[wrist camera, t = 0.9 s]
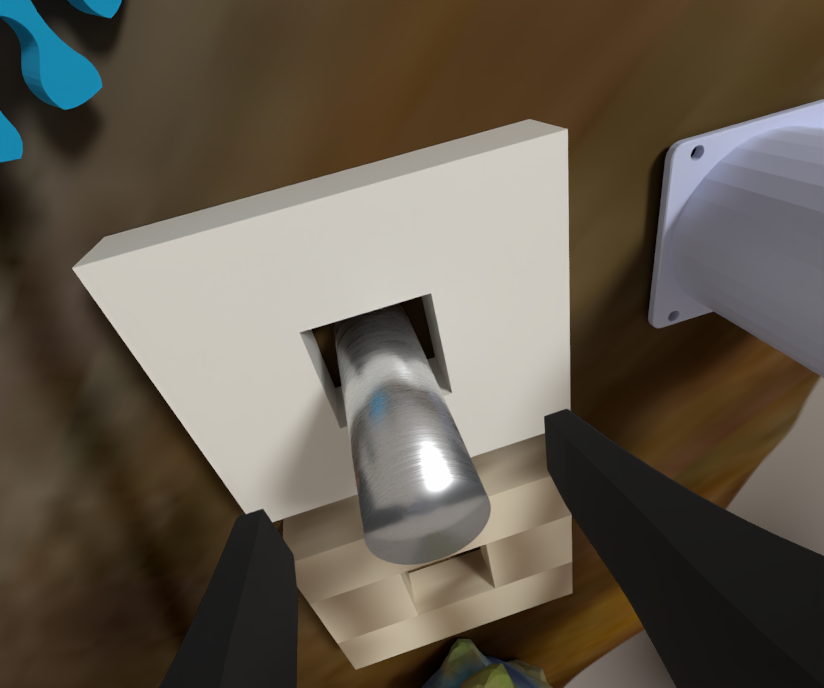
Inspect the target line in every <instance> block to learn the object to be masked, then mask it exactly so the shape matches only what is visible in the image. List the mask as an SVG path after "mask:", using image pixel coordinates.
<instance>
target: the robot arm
mask: <svg viewBox="0 0 824 688" xmlns="http://www.w3.org/2000/svg"><path fill="white" fill-rule="evenodd" d="M695 147H696V151H695V153H694V155H693V156H692V157H691V153H692V150H693V149H694V148H695ZM713 311H714V312H716V313H717V314H719V315H721V316H722V317H724V318H726V319H727V320H729V321H731V322H732V323H734V324H736V325H737V326H739V327H741V328H742V329H744V330H746V331H747V332H749V333H751V334H752V335H754V336H755V337H757V338H759V339H760V340H762V341H764V342H765V343H767V344H769V345H770V346H772V347H774V348H775V349H777V350H779V351H780V352H782V353H784V354H785V355H787V356H789V357H790V358H792V359H794V360H795V361H797V362H799V363H800V364H802V365H804V366H805V367H807V368H809V369H810V370H812V371H813V372H815V373H817V374H818V375H820V376H822V377H823V378H824V99H822V100H819V101H815V102H812V103H808V104H805V105H801V106H798V107H794V108H791V109H787V110H784V111H781V112H777V113H774V114H770V115H767V116H763V117H760V118H756V119H753V120H749V121H746V122H742V123H739V124H735V125H732V126H728V127H725V128H721V129H718V130H714V131H711V132H707V133H704V134H701V135H697V136H694V137H690V138H687V139H683V140H680V141H678V142H676V143H674V144H673V145H672V146H671V147H670V148H669V150H668V152H667V154H666V158H665V166H664V175H663V185H662V194H661V203H660V212H659V222H658V231H657V240H656V249H655V259H654V268H653V277H652V286H651V296H650V305H649V314H648V322H649V323H650V324H651V325H652V326H653V327H655V328H662V327H666V326H669V325H672V324H675V323H678V322H681V321H685V320H688V319H691V318H694V317H697V316H700V315H704V314H707V313H710V312H713ZM671 312H672V313H671ZM544 425H545V442H546V460H547V470H548V472H549V474H550V476H551V478H552V480H553V482H554V484H555V486H556V488H557V490H558V491H559V493H560V495H561V497H562V499H563V501H564V503H565V505H566V506H567V508H568V509H569V511H570V512H571V514H572V516H573V517H574V519H575V520H576V522H577V523H578V525H579V526H580V528H581V529H582V531H583V532H584V534H585V535H586V537H587V538H588V540H589V541H590V543H591V544H592V546H593V547H594V548H595V550H596V551H597V553H598V554H599V556H600V557H601V559H602V560H603V562H604V563H605V565H606V566H607V568H608V569H609V571H610V572H611V574H612V575H613V577H614V578H615V580H616V581H617V583H618V584H619V586H620V587H621V589H622V590H623V592H624V594H625V595H626V597H627V598H628V600H629V602H630V603H631V605H632V607H633V608H634V610H635V612H636V614H637V616H638V617H639V619H640V621H641V623H642V625H643V626H644V628H645V630H646V632H647V634H648V636H649V637H650V639H651V641H652V643H653V645H654V646H655V648H656V650H657V652H658V654H659V656H660V657H661V659H662V661H663V663H664V665H665V667H666V669H667V671H668V672H669V674H670V676H671V678H672V680H673V682H674V684H675V685H676V687H677V688H824V556H823V555H821V554H818V553H816V552H814V551H811V550H809V549H807V548H805V547H802V546H800V545H798V544H795V543H793V542H791V541H789V540H786V539H784V538H781V537H779V536H777V535H775V534H773V533H771V532H769V531H767V530H765V529H763V528H761V527H759V526H756V525H754V524H752V523H750V522H748V521H746V520H744V519H742V518H740V517H738V516H736V515H734V514H733V513H731V512H729V511H727V510H725V509H723V508H721V507H719V506H717V505H715V504H714V503H712V502H710V501H708V500H706V499H704V498H703V497H701V496H699V495H697V494H696V493H694V492H692V491H690V490H689V489H687V488H685V487H684V486H682V485H680V484H678V483H677V482H675V481H673V480H672V479H670V478H668V477H667V476H665V475H664V474H662V473H660V472H659V471H657V470H656V469H654V468H652V467H651V466H649V465H648V464H646V463H645V462H643V461H642V460H640V459H639V458H637V457H636V456H634V455H632V454H631V453H629V452H628V451H626V450H625V449H623V448H622V447H621V446H619V445H618V444H616V443H615V442H613V441H612V440H610V439H609V438H608V437H606V436H605V435H603V434H602V433H600V432H599V431H598V430H596V429H595V428H594V427H592V426H591V425H589V424H588V423H587V422H585V421H584V420H583V419H581V418H580V417H578V416H577V415H576V414H574V413H573V412H572V411H570V410H568V409H564V410H561V411H558V412H555V413H552V414H549V415H546V416H544ZM297 631H298V594H297V582H296V572H295V563H294V554H293V553H292V551H291V550H290V548H289V547H288V545H287V544H286V542H285V541H284V539H283V538H282V536H281V535H280V533H279V532H278V530H277V529H276V527H275V526H274V524H273V523H272V521H271V520H270V518H269V517H268V515H267V514H266V512H265V511H264V509H260V510H257V511H254V512H251V513H248V514H245V515H242V516H239V517H238V518H237V520H236V521H235V524H234V526H233V529H232V531H231V534H230V536H229V538H228V541H227V543H226V546H225V548H224V551H223V553H222V555H221V558H220V560H219V563H218V565H217V567H216V570H215V572H214V574H213V577H212V579H211V582H210V584H209V586H208V588H207V590H206V593H205V595H204V597H203V599H202V602H201V604H200V606H199V608H198V611H197V613H196V615H195V617H194V619H193V621H192V624H191V626H190V628H189V630H188V632H187V634H186V636H185V638H184V640H183V642H182V644H181V646H180V648H179V650H178V652H177V654H176V656H175V658H174V660H173V662H172V664H171V666H170V668H169V670H168V672H167V674H166V676H165V678H164V680H163V681H162V683H161V685H160V687H159V688H296V682H297Z"/></svg>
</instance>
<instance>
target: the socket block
mask: <svg viewBox="0 0 824 688" xmlns="http://www.w3.org/2000/svg"><path fill="white" fill-rule="evenodd" d="M72 269H73V270H74V272H75V273H76V274H77V276H78V277H79V279H80V280H81V282H82V283H83V284H84V286H85V287H86V289H87V290H88V291H89V293H90V294H91V296H92V297H93V299H94V300H95V301H96V303H97V304H98V306H99V307H100V308H101V310H102V311H103V313H104V314H105V315H106V317H107V318H108V320H109V321H110V323H111V324H112V325H113V327H114V328H115V330H116V331H117V332H118V334H119V335H120V337H121V338H122V340H123V341H124V342H125V344H126V345H127V347H128V348H129V349H130V351H131V352H132V354H133V355H134V357H135V358H136V359H137V361H138V362H139V364H140V365H141V366H142V368H143V369H144V371H145V372H146V373H147V375H148V376H149V378H150V379H151V381H152V382H153V383H154V385H155V386H156V388H157V389H158V390H159V392H160V393H161V395H162V396H163V398H164V399H165V400H166V402H167V403H168V405H169V406H170V407H171V409H172V410H173V412H174V413H175V414H176V416H177V417H178V419H179V420H180V422H181V423H182V424H183V426H184V427H185V429H186V430H187V431H188V433H189V434H190V436H191V437H192V439H193V440H194V441H195V443H196V444H197V446H198V447H199V448H200V450H201V451H202V453H203V454H204V456H205V457H206V458H207V460H208V461H209V463H210V464H211V465H212V467H213V468H214V470H215V471H216V472H217V474H218V475H219V477H220V478H221V480H222V481H223V482H224V484H225V485H226V487H227V488H228V489H229V491H230V492H231V494H232V495H233V497H234V498H235V499H236V501H237V502H238V504H239V505H240V506H241V508H242V509H243V511H244V512H245V513H246V514H248V513H251V512H254V511H257V510H260V509H264V511H265V512H266V514H267V515H268V517H269V518H270V520H271V521H272V522H275V521H278V520H281V519H284V518H287V517H290V516H293V515H296V514H299V513H302V512H305V511H309V510H312V509H315V508H318V507H321V506H324V505H327V504H330V503H333V502H336V501H339V500H342V499H345V498H348V497H351V496H354V495H357V494H358V492H357V486H356V479H355V472H354V466H353V459H352V452H351V446H350V439H349V432H348V426H347V419H346V412H345V406H344V399H343V392H342V386H340V387H337V388H335V386H334V384H333V381H332V379H331V377H330V374H329V372H328V369H327V367H326V364H325V362H324V359H323V357H322V354H321V352H320V350H319V347H318V345H317V342H316V340H315V337H314V335H313V332H312V330H311V329H313V328H317V327H320V326H323V325H327V324H330V323H333V322H337V321H340V320H343V319H347V318H350V317H353V316H357V315H360V314H363V313H367V312H370V311H373V310H377V309H380V308H383V307H387V306H390V305H393V304H397V303H400V302H403V301H407V300H410V299H413V298H417V297H420V296H421V297H422V302H423V306H424V310H425V315H426V319H427V324H428V328H429V332H430V337H431V341H432V346H433V350H434V355H435V357H434V358H431V359H427V361H428V363H429V365H430V367H431V370H432V372H433V374H434V376H435V379H436V381H437V383H438V385H439V388H440V390H441V392H442V394H443V397H444V399H445V401H446V403H447V406H448V408H449V410H450V412H451V415H452V417H453V419H454V421H455V424H456V426H457V428H458V430H459V433H460V435H461V437H462V439H463V442H464V444H465V446H466V448H467V451H468V453H469V455H470V457H473V456H476V455H479V454H483V453H486V452H489V451H492V450H495V449H498V448H501V447H504V446H507V445H510V444H513V443H516V442H519V441H522V440H525V439H528V438H531V437H534V436H537V435H541V434H544V433H545V425H544V416H546V415H549V414H552V413H555V412H558V411H561V410H564V409H568V410H570V411H571V407H570V309H569V211H568V129H565V128H561V127H557V126H554V125H550V124H546V123H542V122H538V121H535V120H531V119H528V120H525V121H521V122H517V123H514V124H510V125H507V126H503V127H499V128H496V129H492V130H489V131H485V132H481V133H478V134H474V135H471V136H467V137H463V138H460V139H456V140H453V141H449V142H445V143H442V144H438V145H435V146H431V147H427V148H424V149H420V150H417V151H413V152H409V153H406V154H402V155H398V156H395V157H391V158H388V159H384V160H380V161H377V162H373V163H370V164H366V165H362V166H359V167H355V168H352V169H348V170H344V171H341V172H337V173H334V174H330V175H326V176H323V177H319V178H316V179H312V180H308V181H305V182H301V183H297V184H294V185H290V186H287V187H283V188H279V189H276V190H272V191H269V192H265V193H261V194H258V195H254V196H251V197H247V198H243V199H240V200H236V201H233V202H229V203H225V204H222V205H218V206H215V207H211V208H207V209H204V210H200V211H197V212H193V213H189V214H186V215H182V216H178V217H175V218H171V219H168V220H164V221H160V222H157V223H153V224H150V225H146V226H142V227H139V228H135V229H132V230H128V231H124V232H121V233H117V234H114V235H110V236H106V237H104V238H103V239H102V240H101V241H100V242H99V243H98V244H97V245H96V246H95V247H94V248H93V249H92V250H91V251H90V252H88V253H87V254H86V255H85V256H84V257H83V258H82V259H81V260H80V261H79V262H78V263H77V264H76V265H75V266H74V267H73V268H72Z"/></svg>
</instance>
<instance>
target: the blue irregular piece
mask: <svg viewBox="0 0 824 688" xmlns="http://www.w3.org/2000/svg"><path fill="white" fill-rule="evenodd" d="M67 1H68V2H69V3H70V4H71V5H72V6H74V7H75V8H77V9H78V10H80V11H82V12H84V13H87V14H91V15H96V16H102V17H107V18H112V17H113V15H114V14H115V13H116V12H117V10H118V8H119V6H120V4H121V2H122V0H67ZM0 18H1V19H3V20H4V21H5V22H6V23H8V24H9V25H10V27H11V28H12V29H13V30H14V32H15V33H16V35H17V36H18V39H19V41H20V46H21V68H22V75H23V77H24V80H25V82H26V84H27V86H28V88H29V89H30V90H31V91H32V92H33V94H34V95H35V96H37V97H38V98H39V99H40V100H42V101H44V102H45V103H47V104H50V105H53V106H55V107H58V108H61V109H64V110H67V109H71V108H75V107H77V106H79V105H81V104H83V103H84V102H86V101H87V100H88V99H90V98H91V97H92V96H93V95H95V94H96V93H97V92H98V91H99V90H100V89H101V88H102V87H103V86H102V82H101V78H100V76H99V74H98V72H97V70H96V69H95V67H94V66H93V65H92V64H91V63H90V62H89V61H88V60H87V59H86V58H85V57H83V56H82V55H80V54H79V53H77V52H76V51H74V50H72V49H71V48H70V47H69V46H68V45H67V44H65V43H64V42H63V41H62V40H61V39H60V38H59V37H58V36H57V35H56V34H55V33H54V32H53V31H52V30H51V29H50V28H49V27H48V26H47V24H46V23H45V21H44V20H43V19H42V17H41V16H40V15H39V13H38V12H37V10H36V9H35V7H34V5H33V3H32V2H31V0H0ZM22 153H23V143H22V140H21V137H20V135H19V133H18V132H17V130H16V128H15V127H14V126H13V125H12V124H11V123H10V122H9V121H8V120H7V119H6V117H5V116H4V115H3V114H2V112H1V111H0V162H5V161H10V160H15V159H20V158H21V156H22Z"/></svg>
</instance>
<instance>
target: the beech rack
mask: <svg viewBox="0 0 824 688" xmlns="http://www.w3.org/2000/svg"><path fill="white" fill-rule="evenodd" d="M471 460H472V462H473V464H474V466H475V469H476V471H477V473H478V475H479V478H480V480H481V482H482V484H483V487H484V489H485V491H486V493H487V495H488V498H489V500H490V504H491V512H490V517H489V520H488V522H487V524H486V526H485V528H484V529H483V531H482V532H481V533H480V534H479V535H478V536H477V537H476V538H475V539H474V540H473V541H472V542H471V543H469V544H468V545H467V546H465V547H464V548H462V549H461V550H459V551H457V552H456V553H454V554H451V555H449V556H447V557H450V556H453V555H456V554H459V553H462V552H465V551H468V550H470V549H473V548H476V547H479V546H480V549H479V550H476V551H473V552H470V553H467V554H464V555H461V556H458V557H455V558H452V559H449V560H447V561H444V562H441V563H438V564H435V565H432V566H429V567H426V568H423V569H420V570H417V571H414V572H411V573H408V571H409V570H412V569H415V568H418V567H421V566H424V565H427V564H430V563H432V562H435V561H432V562H428V563H423V564H414V565H402V564H394V563H390V562H387V561H384V560H382V559H380V558H378V557H376V556H375V555H374V554H372V553H371V551H370V550H369V549H368V547H367V546H366V543H365V539H364V533H363V526H362V519H361V513H360V506H359V499H358V495H355V496H352V497H349V498H345V499H342V500H339V501H336V502H333V503H330V504H327V505H324V506H321V507H318V508H315V509H312V510H309V511H306V512H303V513H300V514H297V515H294V516H291V517H287V518H284V519H283V539H284V541H285V542H286V544H287V545H288V547H289V548H290V550H291V551H292V553H293V554H294V563H295V572H296V582H297V587H298V588H299V590H300V591H301V593H302V594H303V596H304V597H305V598H306V600H307V601H308V603H309V604H310V605H311V607H312V608H313V610H314V611H315V612H316V614H317V615H318V617H319V618H320V620H321V621H322V622H323V624H324V625H325V627H326V628H327V629H328V631H329V632H330V634H331V635H332V637H333V638H334V639H335V641H336V642H337V644H338V645H339V646H340V648H341V649H342V651H343V652H344V654H345V655H346V656H347V658H348V659H349V661H350V662H351V663H352V665H353V666H354V668H355V669H359V668H362V667H365V666H368V665H371V664H373V663H376V662H379V661H382V660H385V659H387V658H390V657H393V656H396V655H399V654H402V653H404V652H407V651H410V650H413V649H416V648H419V647H421V646H424V645H427V644H430V643H433V642H435V641H438V640H441V639H444V638H447V637H450V636H452V635H455V634H458V633H461V632H464V631H466V630H469V629H472V628H475V627H478V626H481V625H483V624H486V623H489V622H492V621H495V620H498V619H500V618H503V617H506V616H509V615H512V614H514V613H517V612H520V611H523V610H526V609H529V608H531V607H534V606H537V605H540V604H543V603H545V602H548V601H551V600H554V599H557V598H560V597H562V596H565V595H568V594H571V593H572V514H571V512H570V511H569V509H568V508H567V506H566V505H565V503H564V501H563V499H562V497H561V495H560V493H559V491H558V490H557V488H556V486H555V484H554V482H553V480H552V478H551V476H550V474H549V472H548V470H547V460H546V442H545V433H544V434H541V435H538V436H535V437H532V438H529V439H526V440H523V441H519V442H516V443H513V444H510V445H507V446H504V447H501V448H498V449H495V450H492V451H489V452H486V453H483V454H480V455H477V456H474V457H471ZM447 557H445V558H447ZM442 559H444V558H442ZM439 560H441V559H439ZM436 561H438V560H436Z"/></svg>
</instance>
